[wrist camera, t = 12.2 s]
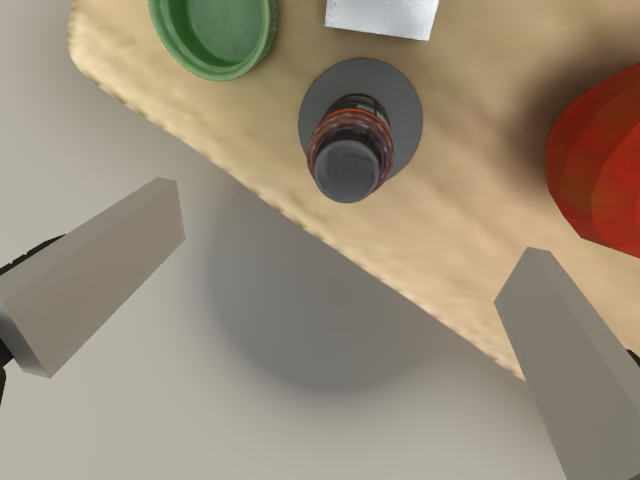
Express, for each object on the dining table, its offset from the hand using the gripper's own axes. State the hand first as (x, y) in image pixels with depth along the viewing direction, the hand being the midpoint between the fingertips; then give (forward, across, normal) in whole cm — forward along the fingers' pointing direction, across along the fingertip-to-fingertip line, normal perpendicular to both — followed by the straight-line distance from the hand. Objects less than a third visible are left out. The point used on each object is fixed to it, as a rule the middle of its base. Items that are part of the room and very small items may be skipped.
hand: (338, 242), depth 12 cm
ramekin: (+20, -12, +7) cm, 24 cm away
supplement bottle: (+19, -1, 0) cm, 19 cm away
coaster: (+20, 0, 0) cm, 20 cm away
